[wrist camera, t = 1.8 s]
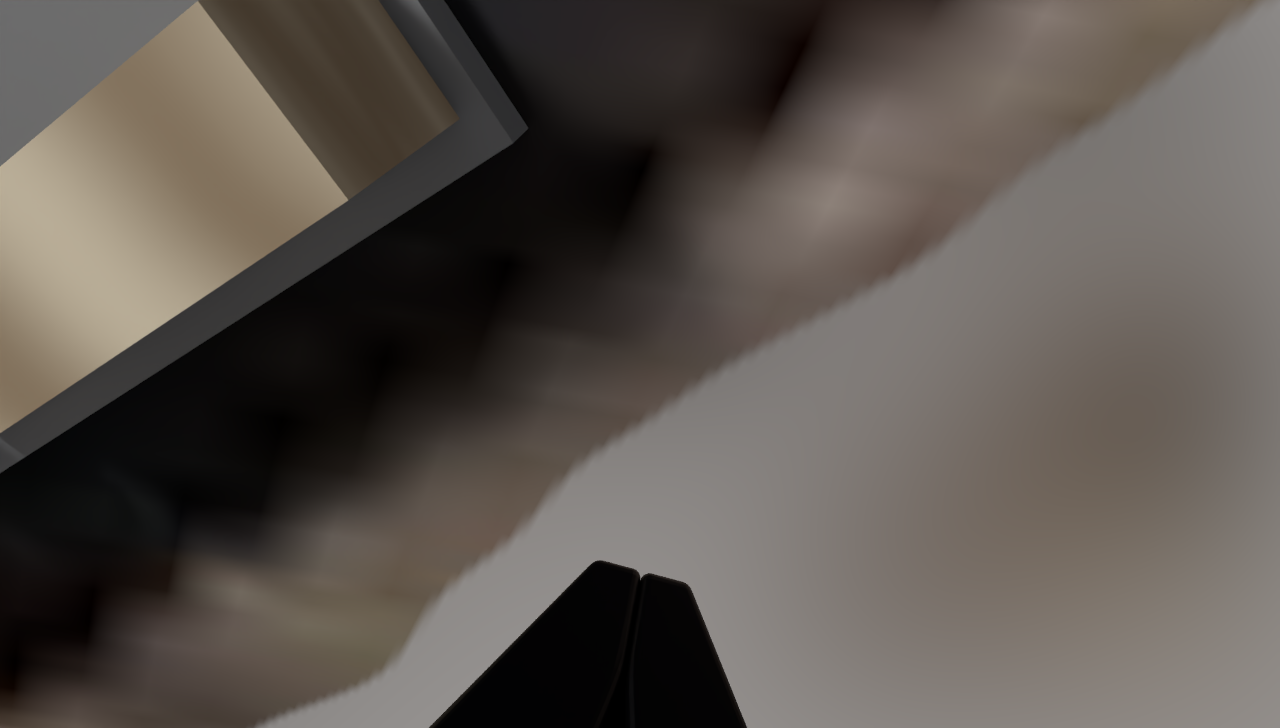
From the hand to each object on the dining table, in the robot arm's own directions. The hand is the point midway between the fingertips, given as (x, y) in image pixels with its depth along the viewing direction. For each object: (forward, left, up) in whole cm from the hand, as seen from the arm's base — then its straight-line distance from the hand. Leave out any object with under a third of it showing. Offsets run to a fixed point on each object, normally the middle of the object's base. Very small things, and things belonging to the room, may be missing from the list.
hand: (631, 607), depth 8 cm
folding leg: (-10, +6, -10) cm, 16 cm away
